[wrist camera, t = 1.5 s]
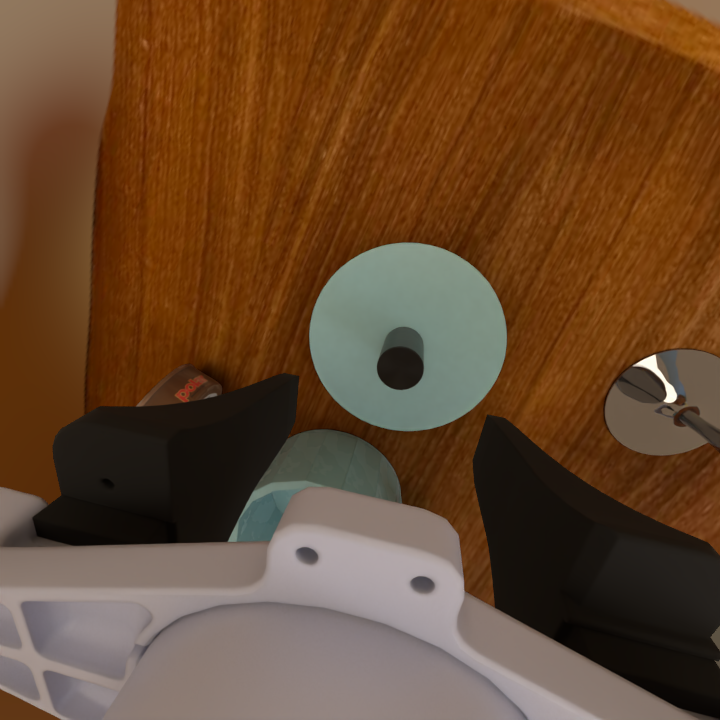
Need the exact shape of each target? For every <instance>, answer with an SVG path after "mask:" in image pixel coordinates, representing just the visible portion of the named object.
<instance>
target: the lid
mask: <svg viewBox="0 0 720 720" xmlns="http://www.w3.org/2000/svg"><path fill="white" fill-rule="evenodd" d="M309 340H310V350H311V356H312V360H313V363H314V366H315V369H316V372H317V374H318V376H319V378H320V380H321V382H322V383H323V385H324V387H325V388H326V390H327V391H328V392H329V393H330V395H331V396H332V397H333V398H334V399H335V400H336V401H337V402H338V403H339V404H340V405H341V406H342V407H343V408H344V409H346V410H347V411H348V412H350V413H351V414H353V415H354V416H356V417H358V418H359V419H361V420H363V421H365V422H368V423H370V424H372V425H375V426H378V427H382V428H386V429H391V430H399V431H419V430H426V429H431V428H435V427H439V426H442V425H444V424H447V423H450V422H452V421H454V420H456V419H457V418H459V417H461V416H463V415H464V414H466V413H467V412H469V411H470V410H471V409H473V408H474V407H475V406H476V405H477V404H478V403H479V402H480V401H481V400H482V399H483V398H484V397H485V395H486V394H487V393H488V392H489V391H490V389H491V387H492V386H493V384H494V383H495V381H496V379H497V377H498V375H499V373H500V371H501V368H502V365H503V361H504V358H505V352H506V346H507V329H506V322H505V317H504V313H503V310H502V306H501V304H500V302H499V300H498V297H497V295H496V293H495V292H494V290H493V288H492V287H491V285H490V284H489V282H488V281H487V280H486V279H485V278H484V277H483V275H482V274H481V273H480V272H479V271H478V270H477V269H476V268H474V267H473V266H472V265H471V264H470V263H469V262H467V261H465V260H464V259H462V258H461V257H459V256H458V255H456V254H454V253H452V252H449V251H447V250H445V249H443V248H439V247H436V246H432V245H428V244H421V243H394V244H387V245H384V246H380V247H376V248H373V249H371V250H369V251H366V252H364V253H361V254H360V255H358V256H356V257H355V258H353V259H351V260H350V261H348V262H347V263H346V264H345V265H343V266H342V267H341V268H340V269H339V270H338V271H337V272H336V273H335V274H334V275H333V276H332V277H331V278H330V279H329V281H328V282H327V284H326V285H325V286H324V288H323V289H322V291H321V293H320V295H319V297H318V299H317V301H316V304H315V307H314V309H313V313H312V317H311V322H310V332H309Z"/></svg>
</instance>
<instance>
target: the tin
mask: <svg viewBox="0 0 720 720" xmlns="http://www.w3.org/2000/svg"><path fill="white" fill-rule="evenodd" d="M221 394H222V386H221V384H219V383H218V382H217V381H216V380H214V379H213V378H211V377H209V376H208V375H206V374H204V373H202V372H201V371H199V370H197V369H196V368H195V367H194V366H193V365H192V364H185V365H182V366H180V367H178V368H176V369H175V370H173V371H172V372H171V373H169V374H168V375H167V376H166V377H165V378H163V379H162V380H161V381H160V382H159V383H158V384H157V385H156V386H155V387H154V388H153V389H152V390H151V391H150V392H149V393H148V394H147V395H146V396H145V397H144V398H143V399H142V400H141V401H140V402H139V404H138V405H137V406H156V405H168V404H176V403H183V402H189V401H196V400H201V399H206V398H210V397H215V396H218V395H221Z"/></svg>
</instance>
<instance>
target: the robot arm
mask: <svg viewBox="0 0 720 720" xmlns="http://www.w3.org/2000/svg"><path fill="white" fill-rule="evenodd" d="M298 383H299V376H296V375H291V374H286V373H283V374H279V375H276V376H273V377H271V378H268V379H265V380H263V381H260V382H258V383H255V384H252V385H250V386H247V387H244V388H241V389H238V390H235V391H232V392H229V393H226V394H222V395H218V396H215V397H210V398H206V399H201V400H196V401H189V402H183V403H176V404H168V405H156V406H136V407H108V406H100V407H98V408H96V409H94V410H92V411H91V412H89V413H87V414H86V415H84V416H82V417H80V418H79V419H77V420H75V421H74V422H72V423H70V424H68V425H67V426H65V427H63V428H62V429H61V430H60V431H59V432H58V434H57V435H56V436H55V440H54V444H53V459H54V463H55V468H56V472H57V477H58V481H59V486H60V490H61V496H60V497H59V498H57V499H56V500H55V501H53V502H52V503H51V504H49V505H48V503H47V502H46V501H45V500H44V499H43V498H40V497H38V496H36V495H32V494H27V493H24V492H20V491H16V490H12V489H8V488H2V487H0V689H2V690H4V691H6V692H8V693H10V694H13V695H14V696H16V697H19V698H20V699H22V700H24V701H26V702H28V703H30V704H32V705H34V706H36V707H38V708H40V709H42V710H44V711H46V712H48V713H50V714H52V715H54V716H56V717H58V718H60V719H62V720H720V668H719V667H718V665H717V664H716V662H715V661H719V660H720V651H719V649H718V648H717V646H716V645H715V643H714V642H713V641H712V639H711V638H710V637H711V636H712V634H713V633H714V632H715V631H716V629H717V628H718V627H719V626H720V555H719V554H718V553H717V552H716V551H715V550H714V549H713V547H712V546H711V545H710V544H709V543H707V542H705V541H703V540H700V539H698V538H696V537H693V536H691V535H688V534H686V533H684V532H681V531H679V530H676V529H674V528H672V527H669V526H667V525H664V524H662V523H660V522H658V521H656V520H654V519H652V518H650V517H647V516H645V515H643V514H641V513H639V512H637V511H635V510H633V509H631V508H629V507H627V506H625V505H624V504H622V503H620V502H618V501H616V500H614V499H613V498H611V497H609V496H607V495H606V494H604V493H602V492H600V491H599V490H597V489H595V488H594V487H592V486H591V485H589V484H587V483H586V482H584V481H583V480H581V479H580V478H578V477H577V476H576V475H574V474H573V473H571V472H570V471H568V470H567V469H566V468H564V467H563V466H562V465H560V464H559V463H558V462H556V461H555V460H554V459H553V458H551V457H550V456H549V455H548V454H546V453H545V452H544V451H543V450H542V449H540V448H539V447H538V446H537V445H536V444H535V443H533V442H532V441H531V440H530V439H529V438H528V437H527V436H525V435H524V434H523V433H522V432H521V431H520V430H519V429H518V428H516V427H515V426H514V425H513V424H512V423H511V422H509V421H508V420H507V419H505V418H502V417H497V416H492V415H487V417H486V420H485V423H484V427H483V430H482V433H481V436H480V439H479V442H478V445H477V448H476V451H475V454H474V458H473V473H474V484H475V488H476V493H477V497H478V502H479V506H480V510H481V515H482V519H483V523H484V527H485V532H486V536H487V541H488V546H489V553H490V561H491V570H492V579H493V590H494V600H495V608H494V607H492V606H490V605H489V604H487V603H485V602H483V601H481V600H479V599H478V598H476V597H474V596H472V595H470V594H468V593H467V592H465V591H464V577H463V569H462V560H461V552H460V543H459V535H458V534H457V532H456V531H455V530H454V528H453V527H452V526H451V525H450V523H449V522H448V521H447V520H446V519H445V518H443V517H441V516H439V515H436V514H434V513H432V512H430V511H428V510H426V509H422V508H418V507H413V506H409V505H405V504H400V503H396V502H392V501H388V500H383V499H379V498H375V497H370V496H366V495H362V494H357V493H353V492H349V491H345V490H340V489H336V488H332V487H307V488H305V489H303V490H301V491H300V492H298V493H296V494H294V495H292V497H291V499H290V501H289V503H288V505H287V507H286V509H285V511H284V514H283V516H282V518H281V520H280V522H279V524H278V526H277V528H276V530H275V532H274V535H273V537H272V539H271V541H248V542H228V540H229V538H230V536H231V534H232V532H233V530H234V528H235V526H236V524H237V522H238V520H239V518H240V516H241V514H242V512H243V510H244V508H245V506H246V504H247V502H248V500H249V498H250V496H251V494H252V492H253V491H254V489H255V487H256V486H257V484H258V483H259V481H260V480H261V478H262V477H263V475H264V474H265V472H266V471H267V469H268V468H269V466H270V465H271V463H272V462H273V460H274V459H275V457H276V456H277V454H278V453H279V451H280V450H281V448H282V447H283V445H284V443H285V442H286V440H287V438H288V436H289V434H290V432H291V430H292V427H293V425H294V423H295V418H296V406H297V395H298ZM714 660H715V661H714Z"/></svg>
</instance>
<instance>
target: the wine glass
mask: <svg viewBox="0 0 720 720" xmlns="http://www.w3.org/2000/svg"><path fill="white" fill-rule="evenodd" d="M604 418H605V422H606V425H607V427H608V429H609V431H610V433H611V434H612V435H613V437H614V438H615V439H616V440H617V441H618V442H620V443H621V444H622V445H624V446H626V447H627V448H629V449H631V450H634V451H637V452H639V453H644V454H649V455H673V454H678V453H683V452H687V451H690V450H693V449H695V448H698V447H700V446H702V445H704V444H706V443H707V442H708V443H709V444H710V445H712V446H713V447H714V448H715V449H716V450H717V451H718V452H719V453H720V358H719V357H717V356H715V355H714V354H711V353H708V352H705V351H701V350H695V349H673V350H666V351H662V352H659V353H655V354H652V355H650V356H648V357H645V358H643V359H641V360H639V361H638V362H636V363H634V364H633V365H631V366H630V367H629V368H628V369H626V370H625V371H624V372H623V373H622V374H621V375H620V376H619V377H618V378H617V379H616V380H615V382H614V383H613V385H612V386H611V388H610V390H609V392H608V394H607V397H606V400H605V405H604Z"/></svg>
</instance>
